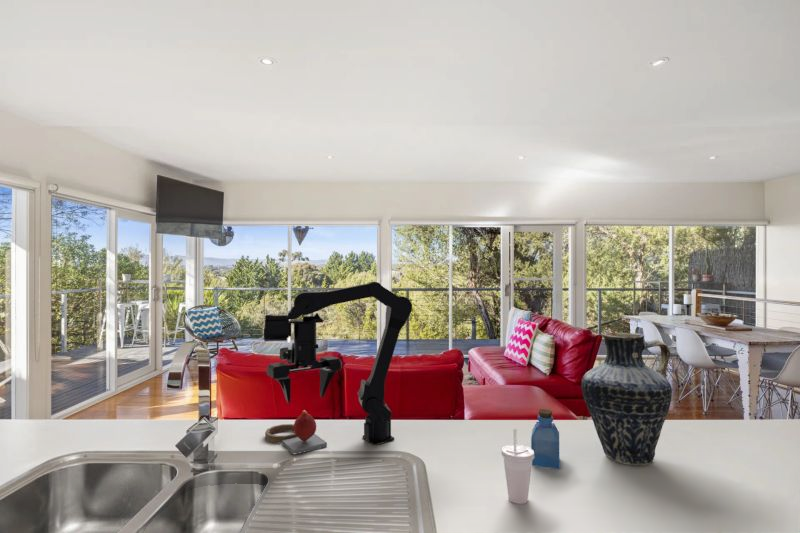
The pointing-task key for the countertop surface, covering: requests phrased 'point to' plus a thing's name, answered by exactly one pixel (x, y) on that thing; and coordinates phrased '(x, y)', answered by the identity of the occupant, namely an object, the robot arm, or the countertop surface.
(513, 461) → the smoothie
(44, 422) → the countertop surface
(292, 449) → the slate tile
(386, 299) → the robot arm
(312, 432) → the onion
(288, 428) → the ring
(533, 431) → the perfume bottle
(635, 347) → the jug
